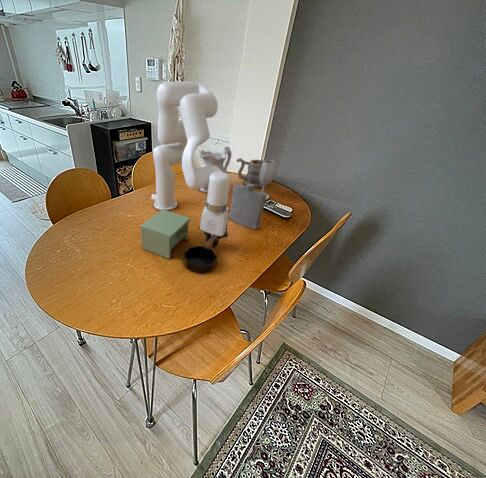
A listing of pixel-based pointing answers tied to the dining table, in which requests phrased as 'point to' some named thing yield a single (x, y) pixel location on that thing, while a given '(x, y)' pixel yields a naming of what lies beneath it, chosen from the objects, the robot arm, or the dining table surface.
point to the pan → (200, 257)
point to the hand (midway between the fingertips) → (211, 244)
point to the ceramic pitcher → (215, 161)
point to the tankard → (251, 172)
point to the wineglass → (266, 174)
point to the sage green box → (164, 232)
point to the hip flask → (247, 206)
